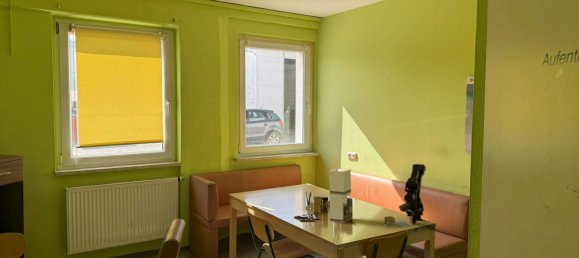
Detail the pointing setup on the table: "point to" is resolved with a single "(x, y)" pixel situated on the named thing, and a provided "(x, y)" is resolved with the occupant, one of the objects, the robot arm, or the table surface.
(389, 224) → the walnut cube
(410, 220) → the terracotta cube
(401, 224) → the plan board
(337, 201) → the cream tall block
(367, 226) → the table surface
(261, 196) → the table surface
